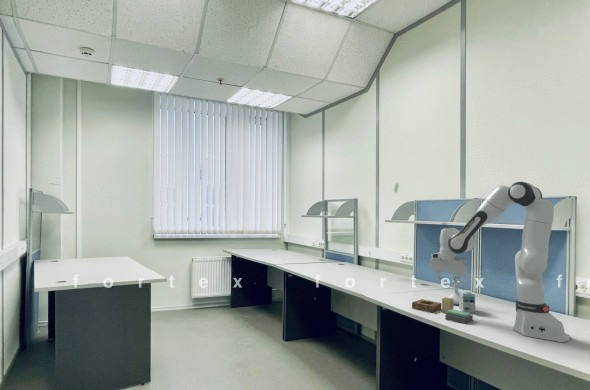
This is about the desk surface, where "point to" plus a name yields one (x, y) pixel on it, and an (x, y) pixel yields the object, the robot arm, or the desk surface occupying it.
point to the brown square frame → (426, 305)
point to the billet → (447, 304)
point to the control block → (458, 318)
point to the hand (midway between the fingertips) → (447, 280)
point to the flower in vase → (455, 292)
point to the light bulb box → (467, 301)
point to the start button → (459, 313)
